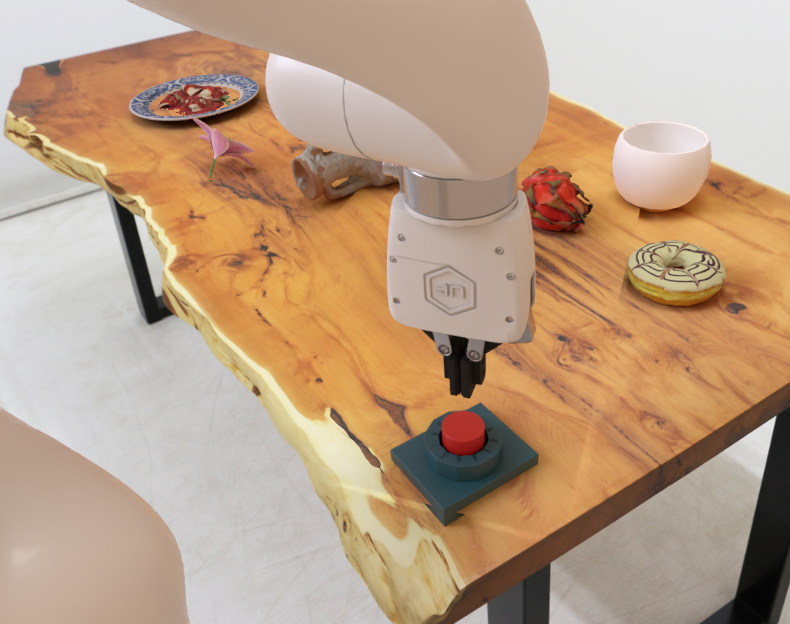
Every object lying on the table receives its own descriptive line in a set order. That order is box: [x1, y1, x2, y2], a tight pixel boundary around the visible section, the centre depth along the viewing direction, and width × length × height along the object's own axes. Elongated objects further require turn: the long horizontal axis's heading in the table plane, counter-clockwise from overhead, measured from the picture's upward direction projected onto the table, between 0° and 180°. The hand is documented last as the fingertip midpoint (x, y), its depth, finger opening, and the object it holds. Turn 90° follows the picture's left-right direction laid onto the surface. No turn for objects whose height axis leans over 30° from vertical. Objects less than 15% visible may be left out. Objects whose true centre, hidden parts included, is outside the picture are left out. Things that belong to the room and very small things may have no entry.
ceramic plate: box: [128, 73, 260, 122], centre depth 143 cm, size 26×26×3 cm
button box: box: [390, 402, 540, 527], centre depth 62 cm, size 10×8×4 cm
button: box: [442, 410, 485, 456], centre depth 60 cm, size 4×4×2 cm
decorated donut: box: [626, 239, 728, 307], centre depth 82 cm, size 10×11×4 cm
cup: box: [611, 120, 713, 213], centre depth 96 cm, size 12×12×10 cm
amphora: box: [290, 143, 399, 201], centre depth 107 cm, size 14×16×30 cm
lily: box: [188, 115, 257, 182], centre depth 115 cm, size 12×12×10 cm
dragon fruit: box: [520, 165, 594, 233], centre depth 93 cm, size 8×8×12 cm
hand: (465, 385), depth 57 cm, fingers closed
